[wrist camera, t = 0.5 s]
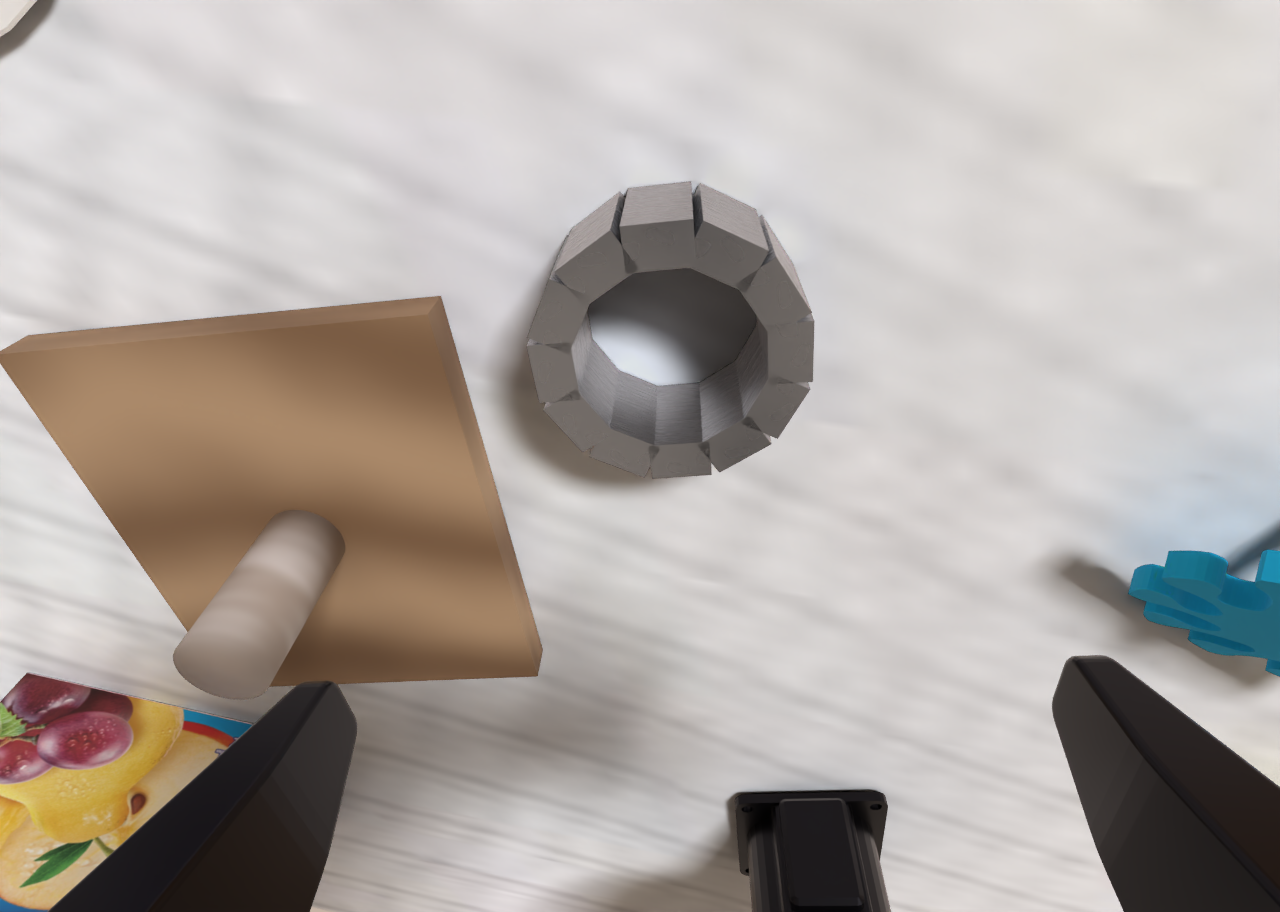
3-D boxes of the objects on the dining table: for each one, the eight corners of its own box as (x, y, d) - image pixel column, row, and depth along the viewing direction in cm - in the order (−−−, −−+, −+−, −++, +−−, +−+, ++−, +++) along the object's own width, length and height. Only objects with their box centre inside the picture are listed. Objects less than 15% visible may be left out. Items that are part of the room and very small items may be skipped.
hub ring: (794, 406, 20) (810, 468, 18) (572, 422, 21) (558, 484, 18) (796, 169, 16) (817, 205, 14) (527, 198, 17) (502, 238, 15)
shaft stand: (542, 649, 26) (510, 812, 21) (242, 662, 28) (144, 819, 23) (440, 296, 19) (351, 420, 14) (28, 335, 20) (-197, 462, 15)
